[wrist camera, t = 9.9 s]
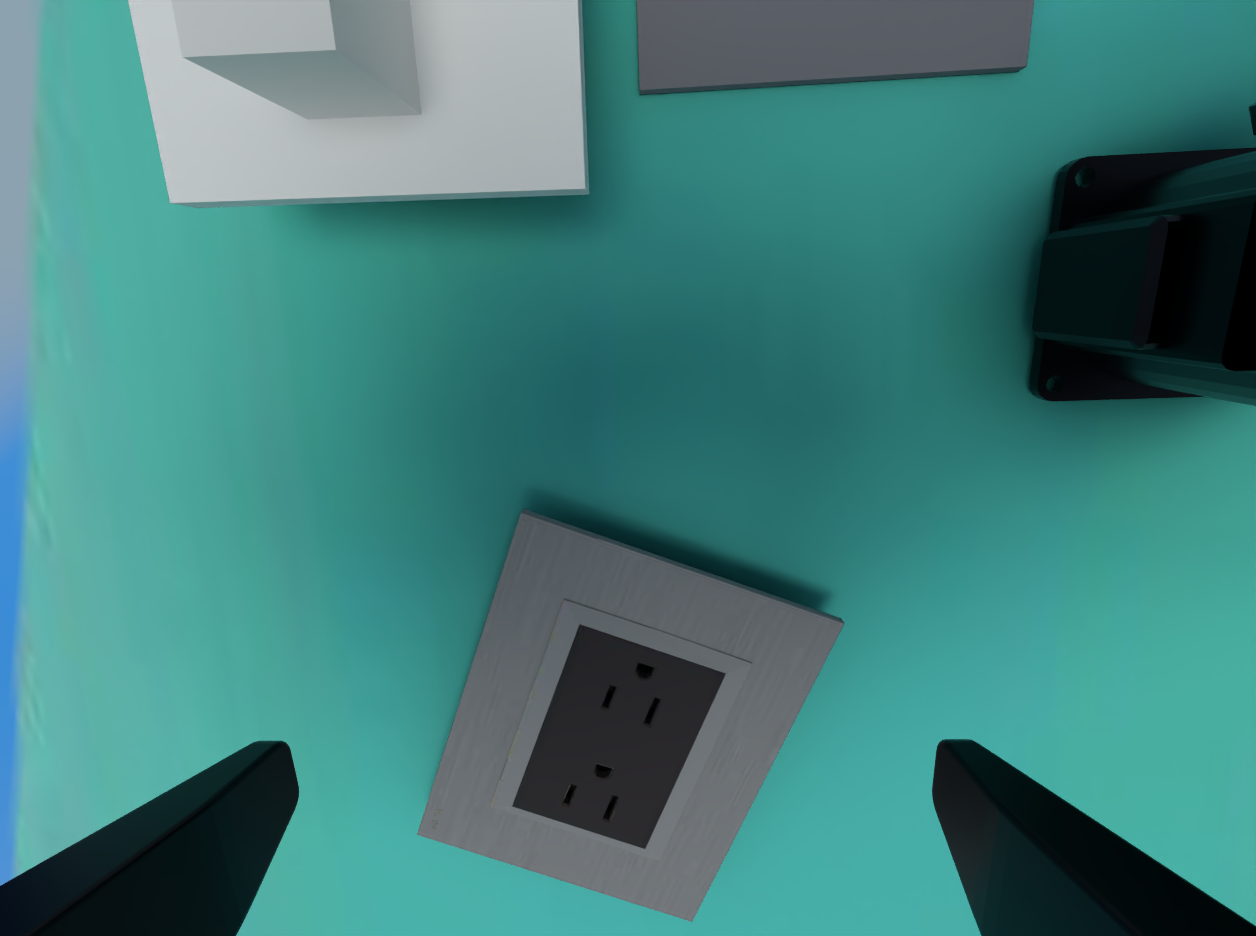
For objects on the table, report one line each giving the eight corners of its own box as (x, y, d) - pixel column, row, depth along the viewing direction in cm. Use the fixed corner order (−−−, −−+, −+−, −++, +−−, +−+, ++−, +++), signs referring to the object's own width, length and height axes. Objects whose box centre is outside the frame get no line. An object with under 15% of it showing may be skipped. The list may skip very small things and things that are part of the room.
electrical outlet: (534, 490, 21) (518, 515, 18) (826, 592, 21) (847, 629, 19) (437, 789, 24) (414, 841, 22) (689, 871, 25) (692, 930, 22)
